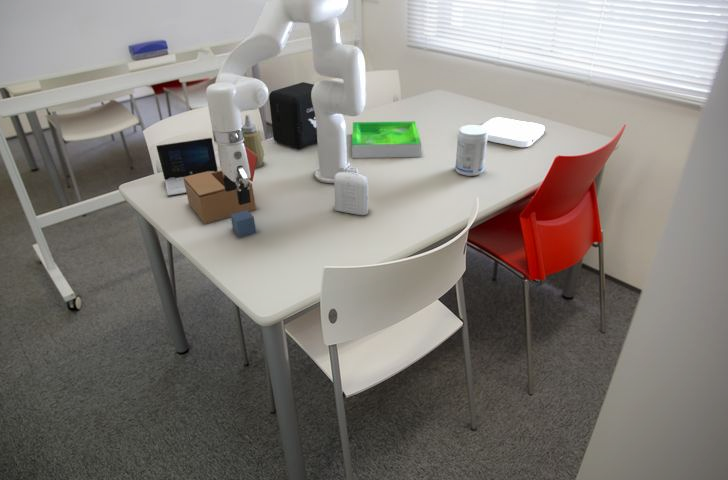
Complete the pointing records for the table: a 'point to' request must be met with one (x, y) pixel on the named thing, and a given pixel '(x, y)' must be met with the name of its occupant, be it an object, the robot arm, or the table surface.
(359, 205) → the white upright block
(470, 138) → the supplement tub
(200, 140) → the laptop
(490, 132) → the computer
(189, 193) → the carton
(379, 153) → the tray
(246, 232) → the block
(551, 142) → the table surface
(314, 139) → the black box-shaped case
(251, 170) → the flap
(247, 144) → the squeeze bottle
